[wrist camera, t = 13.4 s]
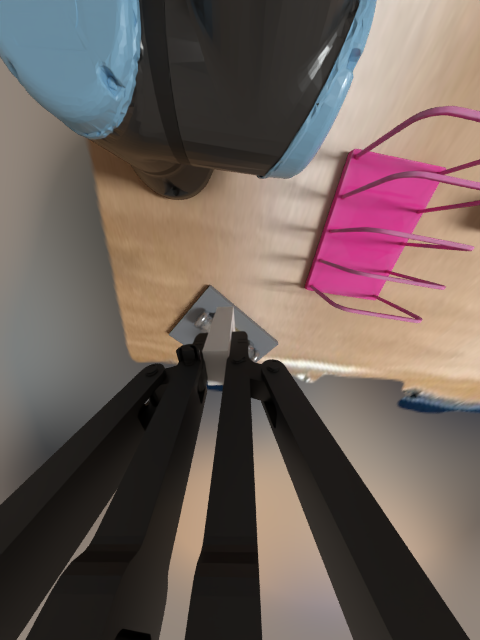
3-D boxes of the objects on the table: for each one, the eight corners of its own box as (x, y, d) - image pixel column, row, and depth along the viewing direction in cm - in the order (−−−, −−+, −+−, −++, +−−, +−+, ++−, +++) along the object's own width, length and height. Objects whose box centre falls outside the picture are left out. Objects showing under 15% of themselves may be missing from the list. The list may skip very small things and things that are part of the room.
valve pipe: (195, 320, 45) (189, 331, 40) (208, 304, 43) (204, 314, 38) (246, 358, 50) (246, 372, 45) (260, 345, 48) (262, 358, 43)
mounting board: (170, 331, 48) (168, 334, 46) (210, 284, 41) (209, 286, 40) (235, 375, 55) (235, 379, 53) (277, 341, 48) (278, 344, 47)
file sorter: (303, 287, 42) (334, 315, 28) (348, 152, 30) (438, 82, 16) (370, 298, 43) (433, 330, 29) (438, 170, 31) (595, 120, 17)
